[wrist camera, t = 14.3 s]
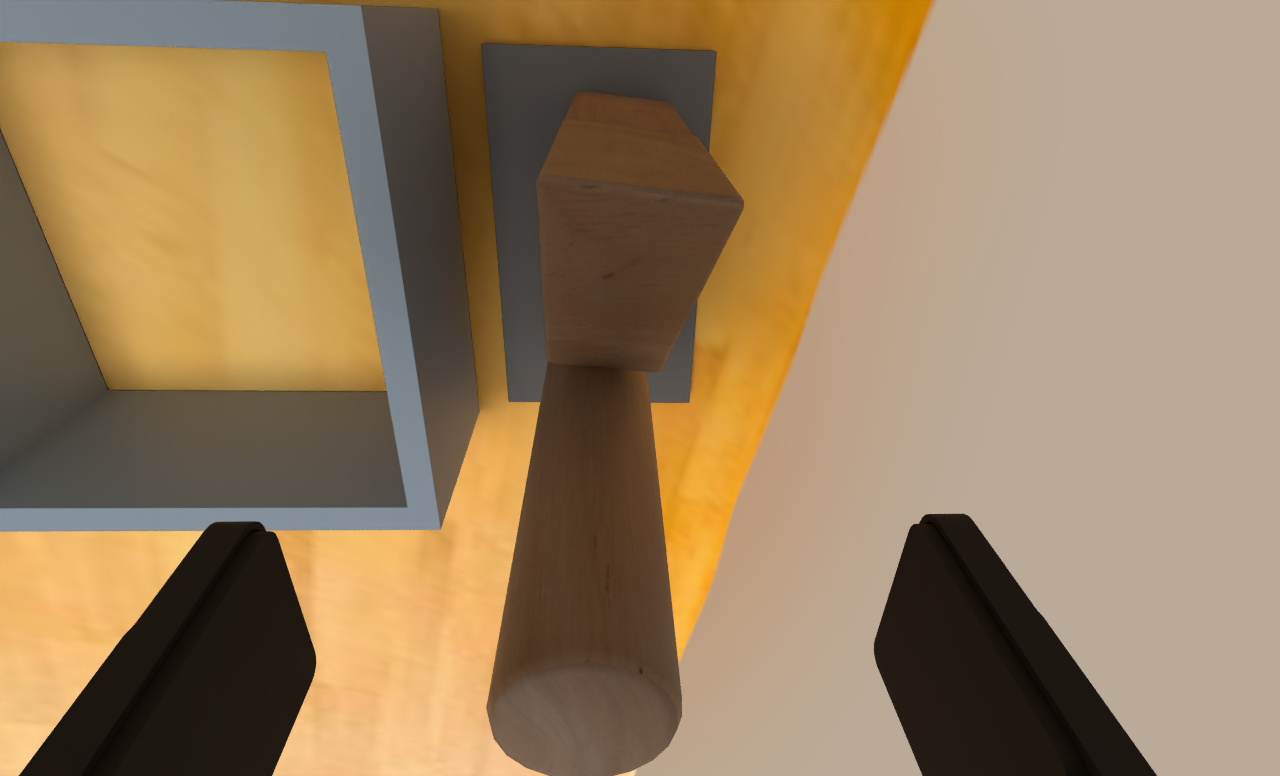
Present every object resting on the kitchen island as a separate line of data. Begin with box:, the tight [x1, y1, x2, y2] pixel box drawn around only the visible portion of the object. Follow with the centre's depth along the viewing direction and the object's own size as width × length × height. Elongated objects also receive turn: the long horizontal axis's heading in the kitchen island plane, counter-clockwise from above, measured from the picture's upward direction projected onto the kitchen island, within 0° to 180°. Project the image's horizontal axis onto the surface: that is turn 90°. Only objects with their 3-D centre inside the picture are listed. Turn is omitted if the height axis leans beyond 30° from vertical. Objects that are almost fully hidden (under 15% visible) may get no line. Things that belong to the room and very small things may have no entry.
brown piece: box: [486, 91, 744, 776], centre depth 18 cm, size 4×11×18 cm, turn 173°
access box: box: [0, 0, 479, 532], centre depth 22 cm, size 16×17×8 cm
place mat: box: [481, 43, 716, 403], centre depth 26 cm, size 14×8×1 cm, turn 178°
